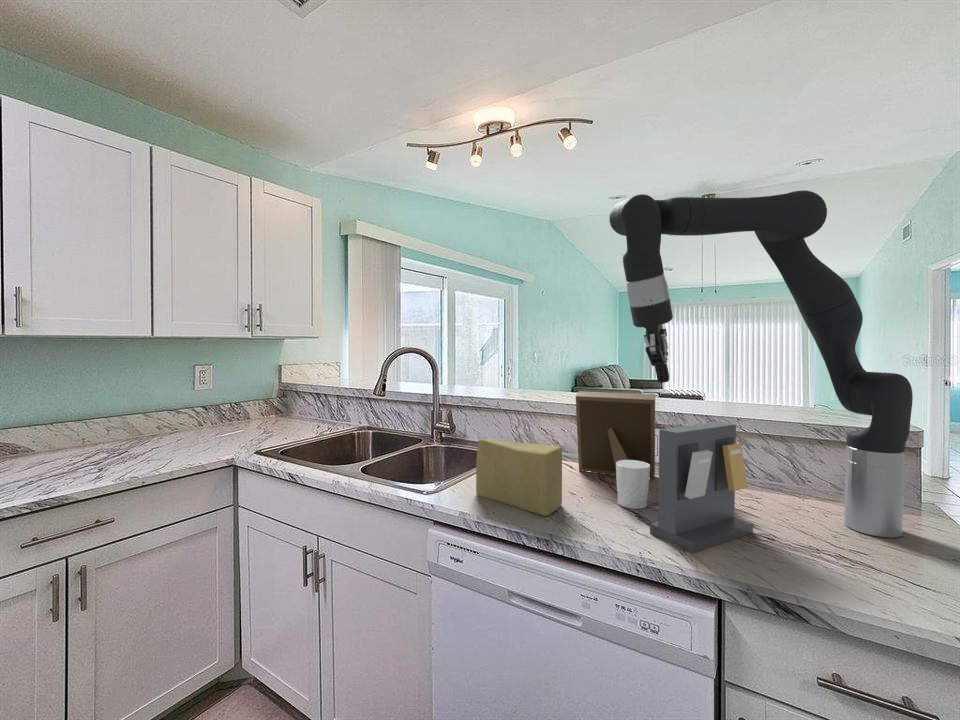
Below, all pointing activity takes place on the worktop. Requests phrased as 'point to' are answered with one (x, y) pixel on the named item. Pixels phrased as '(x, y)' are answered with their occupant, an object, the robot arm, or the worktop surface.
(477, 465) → the cheese
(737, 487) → the amber rocker
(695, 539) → the power panel
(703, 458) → the grey rocker
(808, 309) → the robot arm
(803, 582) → the worktop surface
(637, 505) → the white cup
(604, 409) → the photo frame
